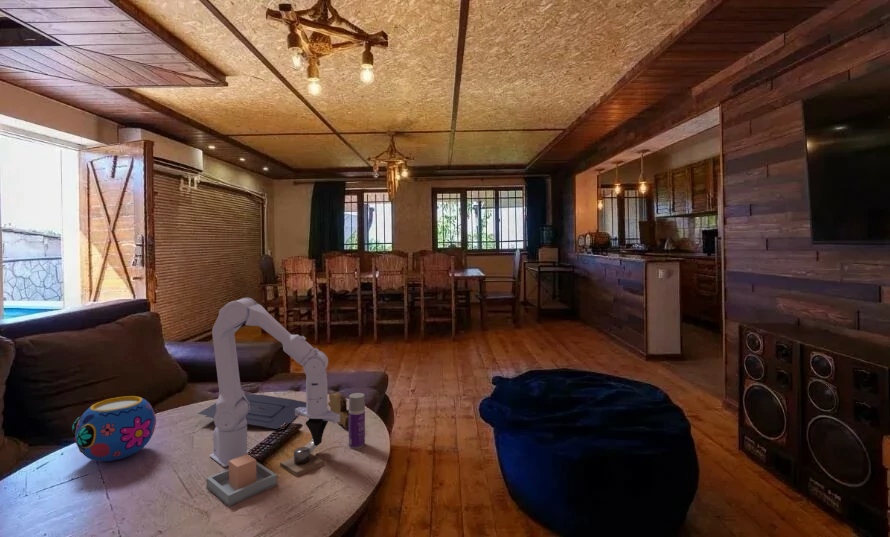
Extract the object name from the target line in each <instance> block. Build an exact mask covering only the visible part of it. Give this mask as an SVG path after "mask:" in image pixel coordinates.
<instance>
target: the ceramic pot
mask: <svg viewBox="0 0 890 537" xmlns="http://www.w3.org/2000/svg"><path fill="white" fill-rule="evenodd" d="M156 424H157V417H156V414H155V410H154V408H153V406H152V404H151V403H150V402H149V401H147V399H145V398H143V397H140V396H136V395H128V396H117V397H112V398H107V399H103V400H101V401H97V402H96V403H94V404H92V405H91V406H90V407H89V408H87V409H86V410H85V411H84V412H83V414H82V415H80V416H79V417H77V418H76V419H75V420H74V422H73V424H72V429H71V430H72V433H73V435H74V436H75V437H74V443H75V444H76V445H77V448H78V450H79V452H80V453H81V454H82V455H83V456H84V457H86V458H87V459H88V460H92V461H97V462H98V461H99V462H113V461H118V460H122V459H125V458H127V457H131V456H132V455H135V454H136V453H137V452H139V451H140V450H142V449H143V448H145V447H146V446H147V444H148V443H149V442H150V440H151V438H152V436H153V435H154V433H155V429H156Z"/></svg>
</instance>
